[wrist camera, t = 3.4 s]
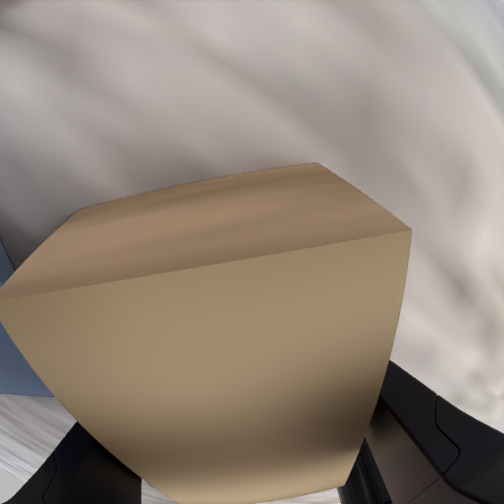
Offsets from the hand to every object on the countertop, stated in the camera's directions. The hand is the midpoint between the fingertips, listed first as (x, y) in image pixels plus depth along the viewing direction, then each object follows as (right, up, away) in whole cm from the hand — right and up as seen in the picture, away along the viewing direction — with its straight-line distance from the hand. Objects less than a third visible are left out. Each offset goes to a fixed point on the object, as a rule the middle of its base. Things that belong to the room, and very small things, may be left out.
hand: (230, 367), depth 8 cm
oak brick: (0, 0, +1) cm, 1 cm away
